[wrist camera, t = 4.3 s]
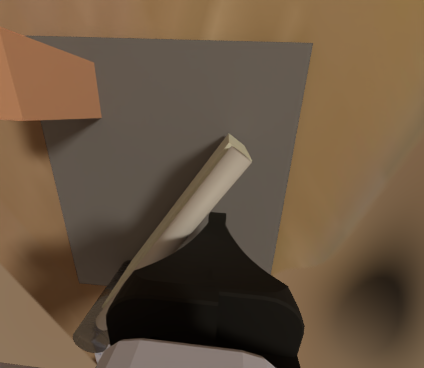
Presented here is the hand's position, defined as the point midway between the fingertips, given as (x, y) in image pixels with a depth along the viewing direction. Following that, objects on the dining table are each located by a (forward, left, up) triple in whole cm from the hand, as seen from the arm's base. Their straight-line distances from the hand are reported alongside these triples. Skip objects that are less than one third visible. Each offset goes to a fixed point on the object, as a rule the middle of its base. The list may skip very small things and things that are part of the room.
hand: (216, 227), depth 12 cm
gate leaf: (0, +3, -2) cm, 3 cm away
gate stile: (+7, +8, -3) cm, 11 cm away
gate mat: (+1, +4, -3) cm, 5 cm away
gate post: (-6, +7, -3) cm, 9 cm away
